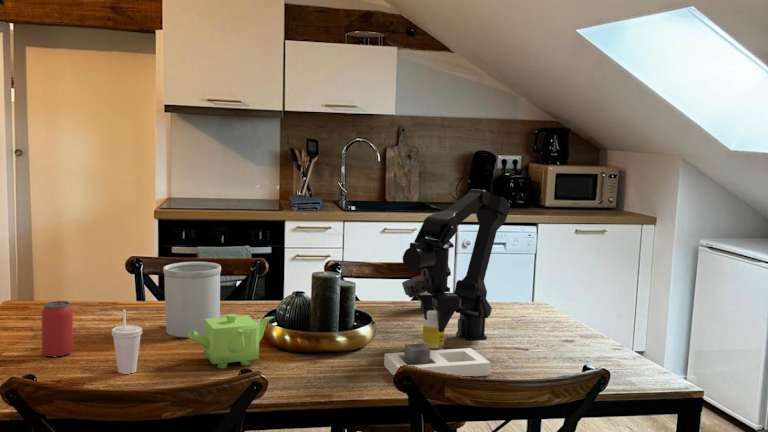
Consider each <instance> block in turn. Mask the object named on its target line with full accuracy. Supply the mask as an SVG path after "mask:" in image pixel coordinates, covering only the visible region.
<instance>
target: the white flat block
mask: <svg viewBox="0 0 768 432" xmlns="http://www.w3.org/2000/svg"><path fill="white" fill-rule="evenodd" d="M404 354H405V351H404V352H388V353H386V352H385V353H384V362H383V365H384V367H385V368H386V370H388V372H389V374H391V375H392V376H393V375H394V374H395V373H396V371H397V370H398V368H399V367H400V366H403V365H407V364H406V363H405V362H404ZM491 365H492V363H491V361H489V360H488V359H487V358H485V357H484V356H482V355H481V354H480V353H479V352H477V351H475V350H474V349H472V348H470V347H468V348H467V347H466V348H454V349H453V348H451V349H449V348H448V349H443V350H433V351H430V364H419V365H408V366H415V367H418V368H421V369H425V370H430V371H435V372H441V373H446V374H454V375H462V376H474V377H485V376H490V375H491Z"/></svg>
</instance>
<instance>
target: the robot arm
mask: <svg viewBox="0 0 768 432" xmlns="http://www.w3.org/2000/svg"><path fill="white" fill-rule="evenodd" d="M510 208H511V206H510V203H509V202H508V200H507V199H506V198H505V197H501V196H498V195H495V194H493V193H491V192H489V191H487V190H486V189H476V188H472V189H470V190H468V191H467V194H465V195H463V196H462V197H461V198H460V199H459V200H458V201H456V202H454V203H453V204H452V205H451V206H450V207H448V208H447V209H446V210H443V211H437V212H435V213H432V214H430V215H428V216H427V217H426V218H424V220H423V223H422V225H421V227H420V229H419V231H418V233H417V235H416V237H415V239H414V242H410V243H409V247H408V248H406V250H405V251H404V253H403V255H402V262H403V265H404V268H405V269H406V270H408V271H409V272H418V271H420V273H421V274H420V275H418V276H414V277H412V278H409V279H407V280H405V281H402V282H401V284H402V287H403V291H404V294H405V295H406V296H407V297H408V298H415V297H416V298H417V299H418V300H419V301H420V306H421V305H422V309H423V310H422V309H421V310H422V314H423V317H424V321H425V320H426V319H427V311H432V310H434V309H435V310H436V311H437V320H438V330H439V332H443V331H444V332H445V329H446V327H447V326H448V325H449V322H450V320H451V319H452V317H453V315H454V314H455V313H456V314H459V318H457V331H456V332H455V333H456V335H458V336H459V337H461V338H463V340H467V341H470V340H483V339H484V340H486V339H488V336H486V335H485V330H486V319H488V318H489V317H491V314H492V306H491V305H490V303H489V302H488V300H487V294H488V291H487V288H486V284H485V278H486V273H487V269H488V266H489V262H490V258H491V254H492V251H493V247H494V242H495V239H496V235H497V232H498V230H499V229H500V228H501V227H502V226H503V225H504V224H505V222H506V221H507V217H508V214H509V212H510ZM475 212H476V215H475V217H476V219H477V223H478V229H477V233H476V238H475V241H474V245H473V248H472V253H471V255H470V256H471V257H470V259H469V260H470V261H469V262H468V268H467V272H466V275H465V276H464V277H463V278H462V279H458V280H457V281H456V284H455V288H454V291H453V292H451V288H450V287H449V286H448V278H449V277H451V275H452V273H451V271H450V270H449V260H450V259H449V256H450V254H449V253H450V249H453V248H454V247H455V245H454V243H452V241H450V240H451V239H453V237H454V236H455V235H456V234H457V232H458V230H459V225H460V224H461V223H463V222H464V221H465V220H466V219H467V218H469V217H470V216H471V215H472V214H473V213H475Z"/></svg>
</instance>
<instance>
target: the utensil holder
mask: <svg viewBox="0 0 768 432" xmlns="http://www.w3.org/2000/svg"><path fill="white" fill-rule="evenodd" d="M162 268H163V269H162V270H163V271H162V272H163V274H164V309H165V311H164V312H165V328H166V333H167V335H170V336H172V337H178V338H189V335H190V333H191V332H192V331H196V332H197V333H199V334H201V335H202V336H204V319H209V318H220V317H221V273H222V272H221V271H222V266H221V264H219V263H216V262H210V261H209V262H208V261H183V262H182V261H181V262H176V263H170V264H167V265H164V266H163V267H162Z"/></svg>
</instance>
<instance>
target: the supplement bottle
mask: <svg viewBox="0 0 768 432" xmlns="http://www.w3.org/2000/svg"><path fill="white" fill-rule="evenodd" d="M444 338H445V330H444V331H443V332H439V330H438V320H437V311H434V310H432V311H427V319H426V320H425V319H424V321H423V326H422V342H421V344H424V345H425V346H427V347H428V348H429V349H430V351H433V350H444V341H445V340H444Z"/></svg>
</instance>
